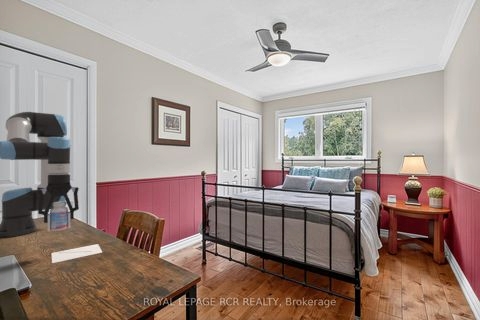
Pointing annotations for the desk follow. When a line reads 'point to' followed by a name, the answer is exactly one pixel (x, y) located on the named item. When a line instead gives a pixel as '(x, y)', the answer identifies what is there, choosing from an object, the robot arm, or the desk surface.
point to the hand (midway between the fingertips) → (59, 228)
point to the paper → (75, 253)
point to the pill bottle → (58, 216)
